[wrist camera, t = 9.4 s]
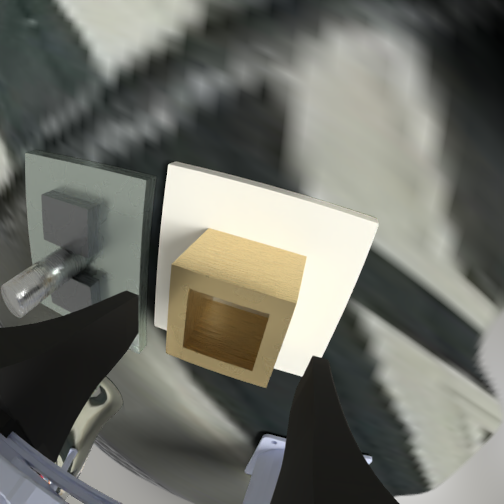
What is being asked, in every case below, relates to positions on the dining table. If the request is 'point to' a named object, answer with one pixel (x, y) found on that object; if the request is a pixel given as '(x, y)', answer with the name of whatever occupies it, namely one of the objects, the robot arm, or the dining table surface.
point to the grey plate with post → (83, 236)
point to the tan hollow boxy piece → (227, 317)
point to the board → (274, 234)
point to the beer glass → (87, 430)
